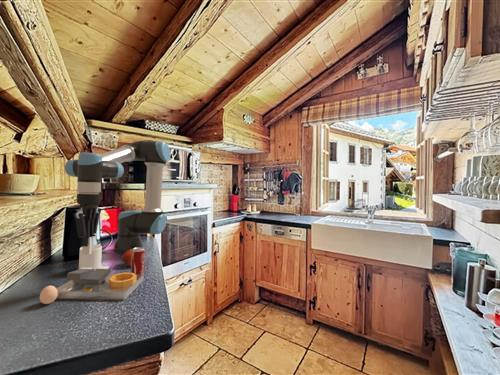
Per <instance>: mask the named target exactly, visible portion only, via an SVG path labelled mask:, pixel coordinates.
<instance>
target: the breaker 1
mask: <svg viewBox="0 0 500 375" xmlns="http://www.w3.org/2000/svg"><path fill="white" fill-rule="evenodd" d="M93 271H94V268H80V269H79V268H78V269H76V270H72V271H69V272H68V273H67V276H66V281H70V280H82V279H84V278H87V277H88V276H89V275H90V274H91V273H92V272H93Z"/></svg>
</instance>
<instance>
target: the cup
mask: <svg viewBox="0 0 500 375" xmlns="http://www.w3.org/2000/svg"><path fill="white" fill-rule="evenodd" d="M102 254H103V246H102V245H100V244H92V254H90V255H83V254H82V246H81V247H80V248H79V255H78V257H79V259H78V269H80V268H94V270H95V269H97V268H98V267H99V266H102V258H103V257H102Z"/></svg>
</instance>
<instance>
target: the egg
mask: <svg viewBox="0 0 500 375" xmlns="http://www.w3.org/2000/svg"><path fill="white" fill-rule="evenodd" d="M56 288H57V287H55V286H54V285H47V286H45V287H44V288H43V289H42V290H41V292H40V293H39V301H40V303H42V305H43V304H44V305H49V304H51V303H53V302H55V300H56V298H57V295H58V291H57V289H56Z"/></svg>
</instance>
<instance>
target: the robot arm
mask: <svg viewBox="0 0 500 375" xmlns="http://www.w3.org/2000/svg"><path fill="white" fill-rule="evenodd" d="M170 159H171V150H170V147H169V145H168V144H167V143H166V142H165V141H159V140H138V141H137V140H136V141H132V142H130V143H125V144H123V145H121V146H120V147H119V148H116V149H113V150H112V149H111V150H109V151H107V152H102V153H95V152H80V153H79V154H78V158H77V159H76V158H75V159H68V160H67V161H66V162H65V164H64V172H65V174H66V175H68V176H70V177H74V178H77V185H76V192H77V194H76V204H79V206H78V211H77V212H74V213H73V218H74V219H75V226H76V233H77V237H78V238H80V239H81V247H82V254H83V255H90V254H92V245H93V237H96V234H97V232H98V225H99V220H100V216H101V212H102V209H100V208H99V209H98V204H100V203H101V196H102V195H101V192H102V179H109V180H110V179H111V180H115V179H120V178H121V177H122V176H123V175H124V173H125V172H124V171H125V169H124V166H123V165H122V164H123V163H126V162H127V163H128V162H133V161H144V165H146V179H145V180H146V182H145V197H144V198H145V199H144V208H143V209H142V210H141V209H140V210H139V209H136V210H134V209H133V210H126V211H121V212H119V213H118V222H117V238H116V240H115V244H114V245H113V252H114V253H116V254H124V253H125V252H126V251H127V250H129V249H133V248H138V247H143V248H144V246H143V241H142V239H141V234H148V235H149V234H150V235H160V234H162V232H164V230H165V228H166V225H167V220H168V219H167V215H166V214H164V210H163V209H162V208H161V206H162V189H163V177H164V176H163V175H164V174H163V173H164V168H165V166H166V165H167V162H169V161H170Z"/></svg>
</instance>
